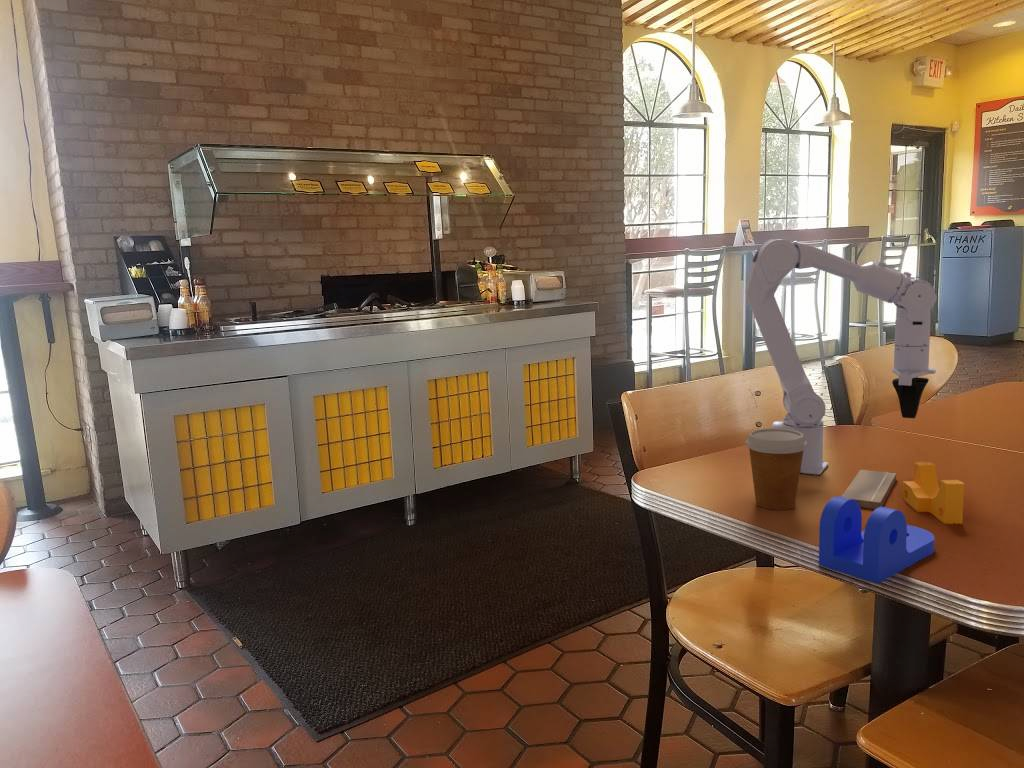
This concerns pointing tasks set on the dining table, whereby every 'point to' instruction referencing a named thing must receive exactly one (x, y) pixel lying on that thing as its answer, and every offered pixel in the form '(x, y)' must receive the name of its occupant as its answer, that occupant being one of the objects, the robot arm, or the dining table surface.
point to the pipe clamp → (934, 494)
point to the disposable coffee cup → (776, 466)
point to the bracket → (869, 541)
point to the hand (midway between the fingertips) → (909, 417)
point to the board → (870, 488)
